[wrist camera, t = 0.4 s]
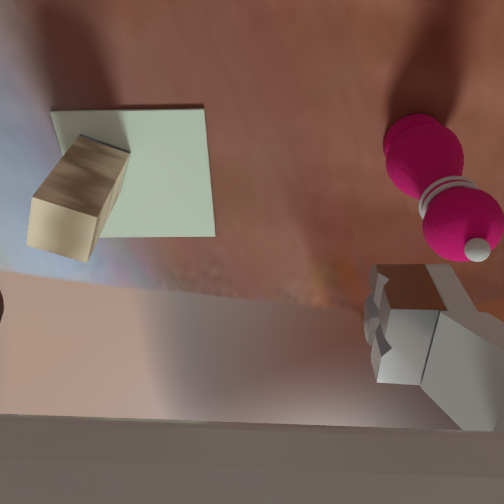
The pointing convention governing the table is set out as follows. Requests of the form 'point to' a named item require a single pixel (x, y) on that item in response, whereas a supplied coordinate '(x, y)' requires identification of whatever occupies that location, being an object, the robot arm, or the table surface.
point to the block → (77, 198)
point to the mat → (152, 168)
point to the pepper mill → (442, 189)
